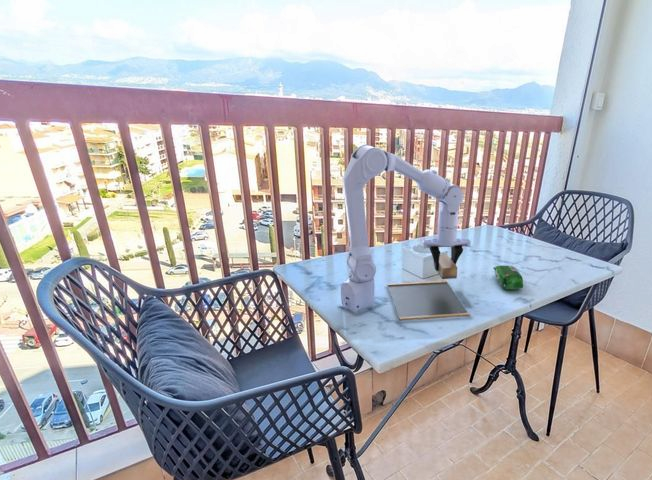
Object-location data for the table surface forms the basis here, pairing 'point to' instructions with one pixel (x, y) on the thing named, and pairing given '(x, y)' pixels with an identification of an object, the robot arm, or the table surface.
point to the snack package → (508, 277)
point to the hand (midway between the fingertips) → (444, 269)
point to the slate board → (425, 300)
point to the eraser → (446, 267)
